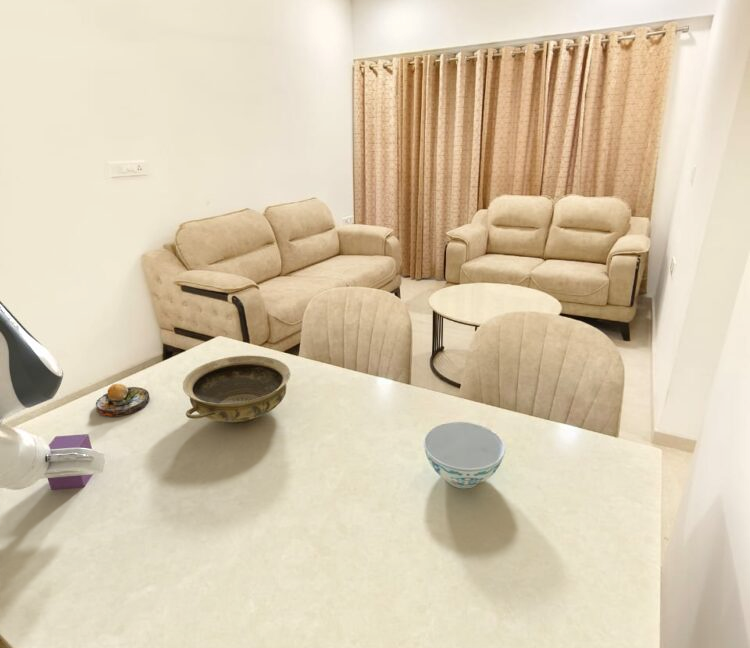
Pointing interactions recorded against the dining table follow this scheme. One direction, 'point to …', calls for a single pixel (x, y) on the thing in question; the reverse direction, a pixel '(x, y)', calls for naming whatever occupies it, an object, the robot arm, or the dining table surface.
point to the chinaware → (463, 452)
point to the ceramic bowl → (236, 388)
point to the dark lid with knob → (122, 400)
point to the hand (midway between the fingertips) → (60, 471)
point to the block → (69, 442)
